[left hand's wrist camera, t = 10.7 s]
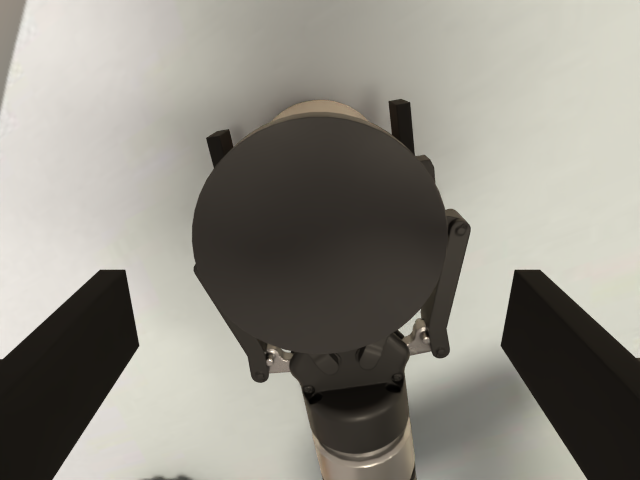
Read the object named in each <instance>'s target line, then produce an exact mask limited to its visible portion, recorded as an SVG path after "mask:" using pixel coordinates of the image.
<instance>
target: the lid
mask: <svg viewBox="0 0 640 480" xmlns="http://www.w3.org/2000/svg"><path fill="white" fill-rule="evenodd" d="M447 243H448V226H447V218H446V213H445V207H444V204H443V201H442V198H441V195H440V192H439V190H438V188H437V186H436V184H435V182H434V180H433V179H432V177H431V175H430V174H429V172H428V171H427V170H426V168H425V167H424V165H423V164H422V163H421V162H420V161H419V160H418V158H417V157H416V156H415V155H414V154H413V153H412V152H411V151H410V150H409V149H408V148H407V147H406V146H405V145H403V144H402V143H401V142H400V141H399V140H397V139H396V138H395V137H394V136H392V135H391V134H390V133H388V132H387V131H385V130H383V129H382V128H380V127H378V126H377V125H375V124H372V123H370V122H368V121H365V120H363V119H361V118H357V117H353V116H350V115H346V114H340V113H332V112H307V113H300V114H293V115H290V116H287V117H283V118H280V119H277V120H274V121H272V122H270V123H268V124H266V125H263V126H261V127H260V128H258V129H257V130H255V131H253V132H252V133H250V134H249V135H247V136H246V137H245V138H244V139H243V140H241V141H240V142H239V143H238V144H237V145H236V146H234V147H233V148H232V149H231V150H230V151H229V152H228V153H227V154H226V155H225V156H224V157H223V158H222V160H221V161H220V162H219V163H218V164H217V165H216V166H215V168H214V169H213V171H212V172H211V174H210V175H209V177H208V178H207V180H206V182H205V184H204V186H203V188H202V191H201V193H200V195H199V198H198V201H197V205H196V208H195V212H194V218H193V225H192V244H193V252H194V258H195V262H196V266H197V269H198V272H199V275H200V277H201V280H202V282H203V284H204V286H205V288H206V290H207V291H208V293H209V295H210V297H211V298H212V300H213V301H214V302H215V303H216V305H217V306H218V307H219V309H220V310H221V311H222V312H223V313H224V314H225V315H226V316H227V317H228V318H229V319H230V320H231V321H232V322H233V323H235V324H236V325H237V326H238V327H240V328H241V329H242V330H244V331H245V332H247V333H248V334H250V335H252V336H253V337H255V338H257V339H259V340H261V341H263V342H265V343H268V344H270V345H273V346H276V347H279V348H282V349H285V350H290V351H295V352H300V353H310V354H331V353H339V352H346V351H350V350H354V349H359V348H361V347H364V346H367V345H370V344H373V343H375V342H377V341H379V340H381V339H383V338H385V337H387V336H388V335H390V334H392V333H393V332H395V331H396V330H398V329H399V328H400V327H402V326H403V325H404V324H405V323H407V322H408V321H409V320H410V319H411V318H412V317H413V316H414V315H415V314H416V313H417V312H418V311H419V310H420V309H421V307H422V306H423V305H424V303H425V302H426V301H427V299H428V298H429V297H430V295H431V293H432V291H433V290H434V288H435V286H436V284H437V282H438V280H439V277H440V275H441V272H442V270H443V266H444V262H445V258H446V253H447Z"/></svg>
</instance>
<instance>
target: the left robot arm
mask: <svg viewBox="0 0 640 480" xmlns="http://www.w3.org/2000/svg"><path fill="white" fill-rule="evenodd" d="M138 347H139V342H138V336H137V331H136V325H135V320H134V314H133V309H132V304H131V298H130V293H129V287H128V282H127V276H126V271H125V270H99V271H98V272H97V273H96V274H95V275H94V276H93V277H92V278H91V279H90V280H88V281H87V282H86V283H85V284H84V285H83V286H82V287H81V288H80V289H79V290H78V291H76V292H75V293H74V294H73V295H72V296H71V297H70V298H69V299H68V300H67V301H66V302H65V303H63V304H62V305H61V306H60V307H59V308H58V309H57V310H56V311H55V312H54V313H53V314H51V315H50V316H49V317H48V318H47V319H46V320H45V321H44V322H43V323H42V324H41V325H39V326H38V327H37V328H36V329H35V330H34V331H33V332H32V333H31V334H30V335H29V336H28V337H26V338H25V339H24V340H23V341H22V342H21V343H20V344H19V345H18V346H17V347H16V348H14V349H13V350H12V351H11V352H10V353H9V354H8V355H7V356H6V357H5V358H4V359H0V480H52V479H53V478H54V476H55V475H56V473H57V472H58V470H59V469H60V467H61V466H62V464H63V463H64V461H65V459H66V458H67V456H68V455H69V453H70V452H71V450H72V449H73V447H74V446H75V444H76V443H77V441H78V439H79V438H80V436H81V435H82V433H83V432H84V430H85V429H86V427H87V426H88V424H89V423H90V421H91V419H92V418H93V416H94V415H95V413H96V412H97V410H98V409H99V407H100V406H101V404H102V402H103V401H104V399H105V398H106V396H107V395H108V393H109V392H110V390H111V389H112V387H113V386H114V384H115V382H116V381H117V379H118V378H119V376H120V375H121V373H122V372H123V370H124V369H125V367H126V366H127V364H128V362H129V361H130V359H131V358H132V356H133V355H134V353H135V352H136V350H137V349H138ZM501 347H502V349H503V350H504V352H505V353H506V355H507V356H508V358H509V359H510V361H511V362H512V364H513V366H514V367H515V369H516V370H517V372H518V373H519V375H520V376H521V378H522V379H523V381H524V382H525V384H526V386H527V387H528V389H529V390H530V392H531V393H532V395H533V396H534V398H535V399H536V401H537V402H538V404H539V406H540V407H541V409H542V410H543V412H544V413H545V415H546V416H547V418H548V419H549V421H550V423H551V424H552V426H553V427H554V429H555V430H556V432H557V433H558V435H559V436H560V438H561V439H562V441H563V443H564V444H565V446H566V447H567V449H568V450H569V452H570V453H571V455H572V456H573V458H574V459H575V461H576V463H577V464H578V466H579V467H580V469H581V470H582V472H583V473H584V475H585V476H586V478H587V479H588V480H640V358H635V357H634V356H633V355H632V354H631V353H630V352H629V351H628V350H627V349H626V348H624V347H623V346H622V345H621V344H620V343H619V342H618V341H617V340H616V339H615V338H614V337H612V336H611V335H610V334H609V333H608V332H607V331H606V330H605V329H604V328H603V327H602V326H601V325H599V324H598V323H597V322H596V321H595V320H594V319H593V318H592V317H591V316H590V315H589V314H587V313H586V312H585V311H584V310H583V309H582V308H581V307H580V306H579V305H578V304H577V303H575V302H574V301H573V300H572V299H571V298H570V297H569V296H568V295H567V294H566V293H565V292H564V291H562V290H561V289H560V288H559V287H558V286H557V285H556V284H555V283H554V282H553V281H552V280H550V279H549V278H548V277H547V276H546V275H545V274H544V273H543V272H542V271H541V270H515V271H514V276H513V282H512V287H511V293H510V298H509V304H508V309H507V314H506V320H505V325H504V331H503V336H502V342H501Z"/></svg>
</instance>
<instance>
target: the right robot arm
mask: <svg viewBox="0 0 640 480" xmlns="http://www.w3.org/2000/svg"><path fill="white" fill-rule="evenodd" d="M389 110H390V119H391V129H392V136H394V137H395V138H396V139H397V140H399V141H400V142H401V143H402V144H403V145H405V146H406V147H407V148H408V149H409V150H410V151H411V152H412V153H413V154H414V155H415V153H414V141H413V130H412V119H411V107H410V102H408V101H405V100H402V99H399V100H393V101H389ZM206 139H207V143H208V147H209V151H210V155H211V158H212V162H213V166H214V168H215V166H216V165H217V164H218V163H219V162H220V161H221V160H222V158H223V157H224V156H225V155H226V154H227V153H228V152H229V151H230V150H231V149H232V148H233V144H232V139H231V135H230V131H229V129H228V130H222V131H217V132H215V133H214V134H212V135H210V136H209V137H207V138H206ZM416 157H417V158H418V160H419V161H420V162H421V163H422V164H423V165H424V167H425V168H426V170H427V171H428V172H429V174H430V175H431V177H432V179H433V180H434V182H435V174H434V166H433V164H432V163H431V161H430V159H429V158H428V157H426V156H425V155H421V156H416ZM445 213H446V218H447V226H448V243H447V253H446V258H445V262H444V266H443V270H442V272H441V275H440V277H439V280H438V282H437V284H436V286H435V288H434V290H433V291H432V293H431V295H430V297H429V298H428V299H427V301H426V302H425V303H424V305H423V306H422V307H421V318H419V319H417V320H416V321H415V324H414V325H413V331H412V333H411V334H410V335H408V336H406V337H404V335H403V334H402V333H401V332H399V331H398V330H396V331H395V332H393V333H392V334H390V335H388V336H387V337H385V338H383V339H381V340H379V341H377V342H375V343H373V344H370V345H367V346H364V347H361V348H359V349H354V350H350V351H346V352H339V353H331V354H310V353H300V352H295V351H291V353H287V352H284V351H283V350H282V349H281V348H279V347H276V346H273V345H270V344H268V343H265V342H263V341H261V340H259V339H257V338H255V337H253V336H252V335H250V334H248V333H247V332H245V331H244V330H242V329H241V328H240V327H238V326H237V325H236V324H235V323H233V322H232V321H231V320H230V319H229V318H228V317H227V316H226V315H225V314H224V313H223V312H222V311H221V310H220V309H219V307H218V306H217V305H216V303H215V302H214V301H213V300H212V298H211V297H210V295H209V293H208V291H207V290H206V288H205V286H204V284H203V282H202V280H201V277H200V275H199V272H198V269H197V266H196V264H195V266H194V273H195V275H196V276H197V278H198V279H199V281H200V282H201V284H202V286H203V287H204V289H205V290H206V292H207V293H208V295H209V297H210V298H211V300H212V301H213V303H214V304H215V306H216V307H217V309H218V311H219V312H220V314H221V315H222V317H223V318H224V320H225V322H226V323H227V325H228V326H229V328H230V329H231V331H232V333H233V334H234V336H235V337H236V339H237V340H238V342H239V343H240V345H241V347H242V348H243V350H244V351H245V353H246V354H247V356H248V361H249V366H250V372H251V377H252V379H253V380H254V381H256V382H259V383H262V382H265V381H266V380H267V379H268V377H269V373H281V372H291V374H292V375H293V376H294V377H295V378H296V379H297V380H298V381H299V383H300V385H301V388H302V392H303V397H304V401H305V405H306V410H307V414H308V418H309V423H310V427H311V430H312V436H313V440H314V444H315V448H316V453H317V457H318V461H319V465H320V469H321V474H322V477H323V480H417V478H416V472H415V455H414V447H413V439H412V431H411V423H410V417H409V406H408V398H407V389H406V381H405V372H404V370H405V366H406V363H407V362H408V360H409V357H410V355H415V354H420V353H425V352H430V351H432V354H433V356H435V357H436V358H444V357H446V356H447V355H448V354H449V352H450V347H449V341H448V335H447V329H446V328H447V324H448V320H449V316H450V312H451V308H452V304H453V300H454V296H455V292H456V288H457V284H458V280H459V276H460V272H461V268H462V264H463V259H464V255H465V251H466V247H467V243H468V239H469V235H470V230H471V228H470V225H469V224H468V223H467V222H466V221H465V219H464V218H463V217H462V216H461V215H460V214H459V213H458V212H457V211H456V210H454V209H447V210H445Z"/></svg>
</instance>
